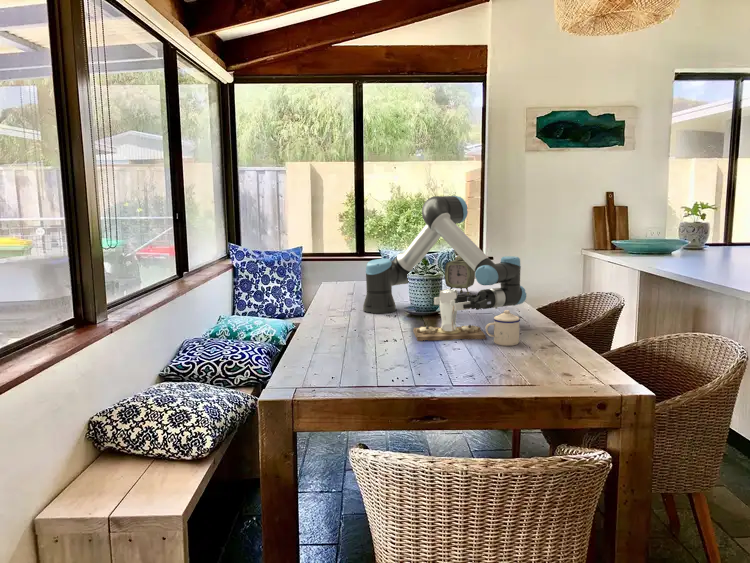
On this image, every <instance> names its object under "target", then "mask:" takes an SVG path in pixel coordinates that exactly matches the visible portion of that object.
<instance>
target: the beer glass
mask: <svg viewBox="0 0 750 563" xmlns="http://www.w3.org/2000/svg"><path fill="white" fill-rule="evenodd" d="M458 295H459V294H458V290H457V289H453V288H452V289H449V288H448V289H447V288H446V289H440V290H439V296H438V297H439V304H438V305H439V312H440V317H441V325H440V327H441V331H444V332H454V331H457V327H458V326H457V315H458V314H457V313H458V311H454V303H458Z"/></svg>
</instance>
